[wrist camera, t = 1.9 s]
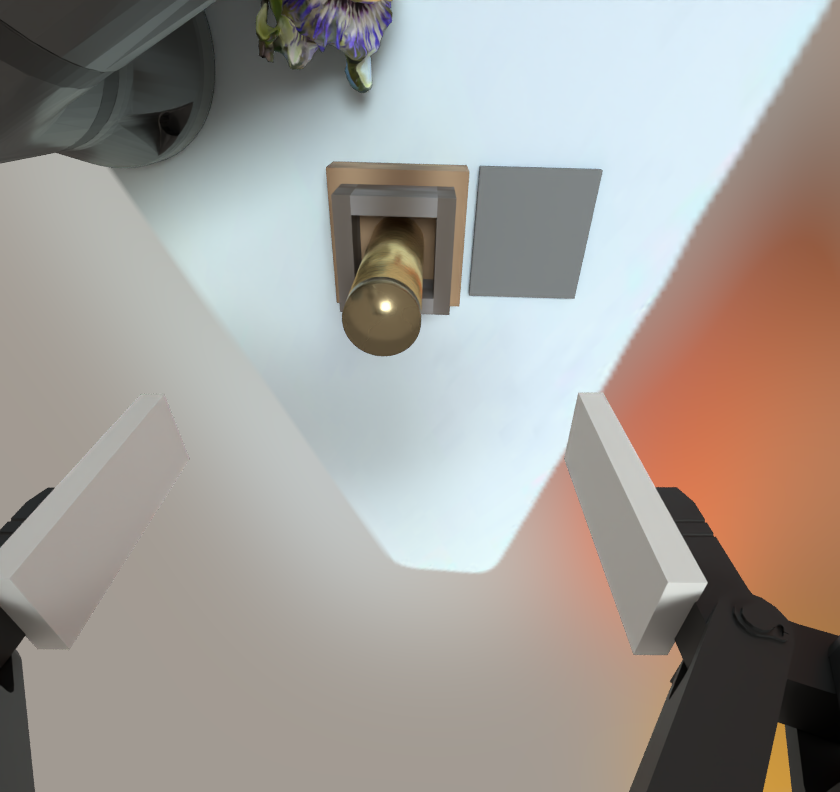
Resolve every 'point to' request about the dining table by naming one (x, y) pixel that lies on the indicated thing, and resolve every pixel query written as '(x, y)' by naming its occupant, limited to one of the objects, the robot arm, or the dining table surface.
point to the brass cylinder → (387, 290)
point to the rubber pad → (531, 230)
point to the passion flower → (325, 32)
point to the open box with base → (403, 197)
